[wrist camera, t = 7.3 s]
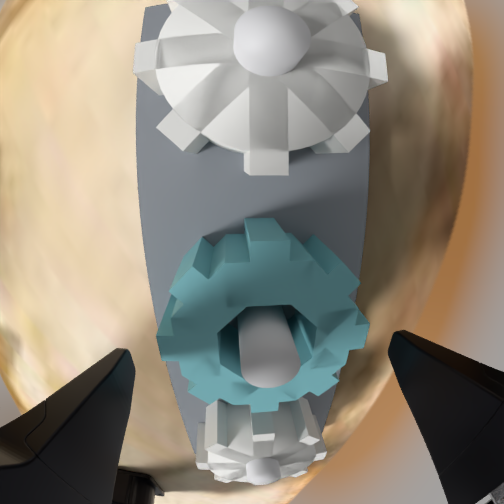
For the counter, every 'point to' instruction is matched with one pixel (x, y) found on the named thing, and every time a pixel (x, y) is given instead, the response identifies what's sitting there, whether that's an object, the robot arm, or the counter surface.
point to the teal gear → (260, 294)
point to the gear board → (253, 185)
